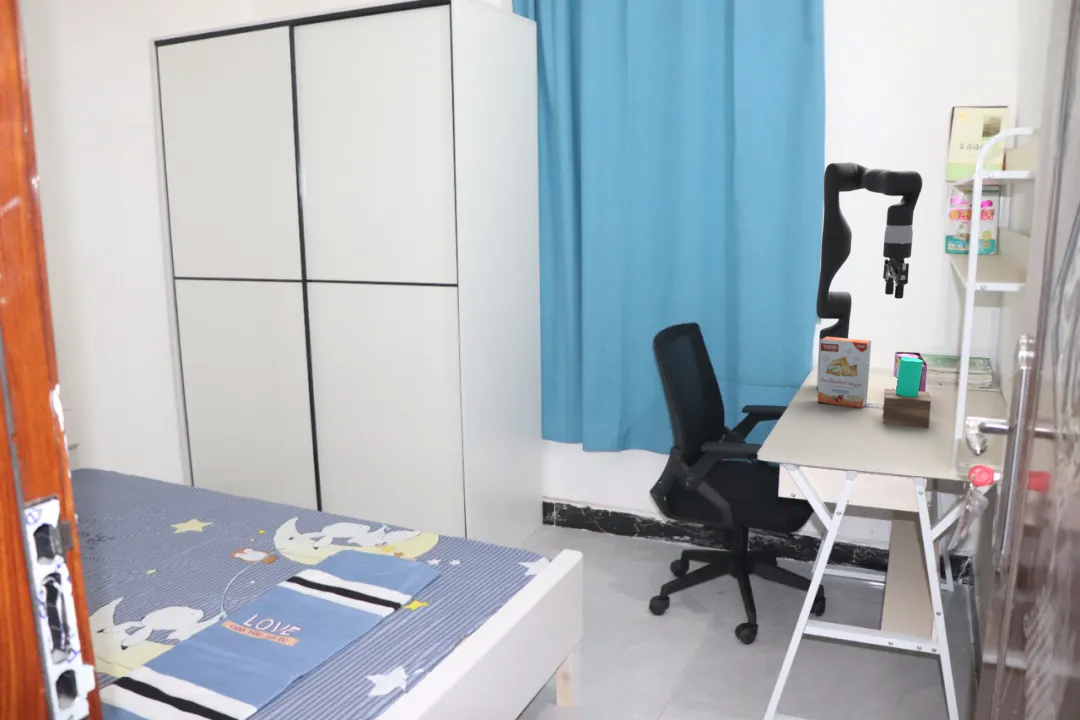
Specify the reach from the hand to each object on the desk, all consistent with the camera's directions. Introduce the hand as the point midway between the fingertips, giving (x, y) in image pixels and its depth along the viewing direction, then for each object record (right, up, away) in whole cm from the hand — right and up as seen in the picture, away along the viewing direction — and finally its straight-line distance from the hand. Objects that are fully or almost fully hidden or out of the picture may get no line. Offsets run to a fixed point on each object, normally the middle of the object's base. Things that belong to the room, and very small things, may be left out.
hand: (893, 296), depth 244 cm
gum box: (+15, -32, +24) cm, 42 cm away
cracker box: (-9, -33, +18) cm, 39 cm away
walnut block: (+2, -37, -2) cm, 37 cm away
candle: (+2, -29, -3) cm, 29 cm away
